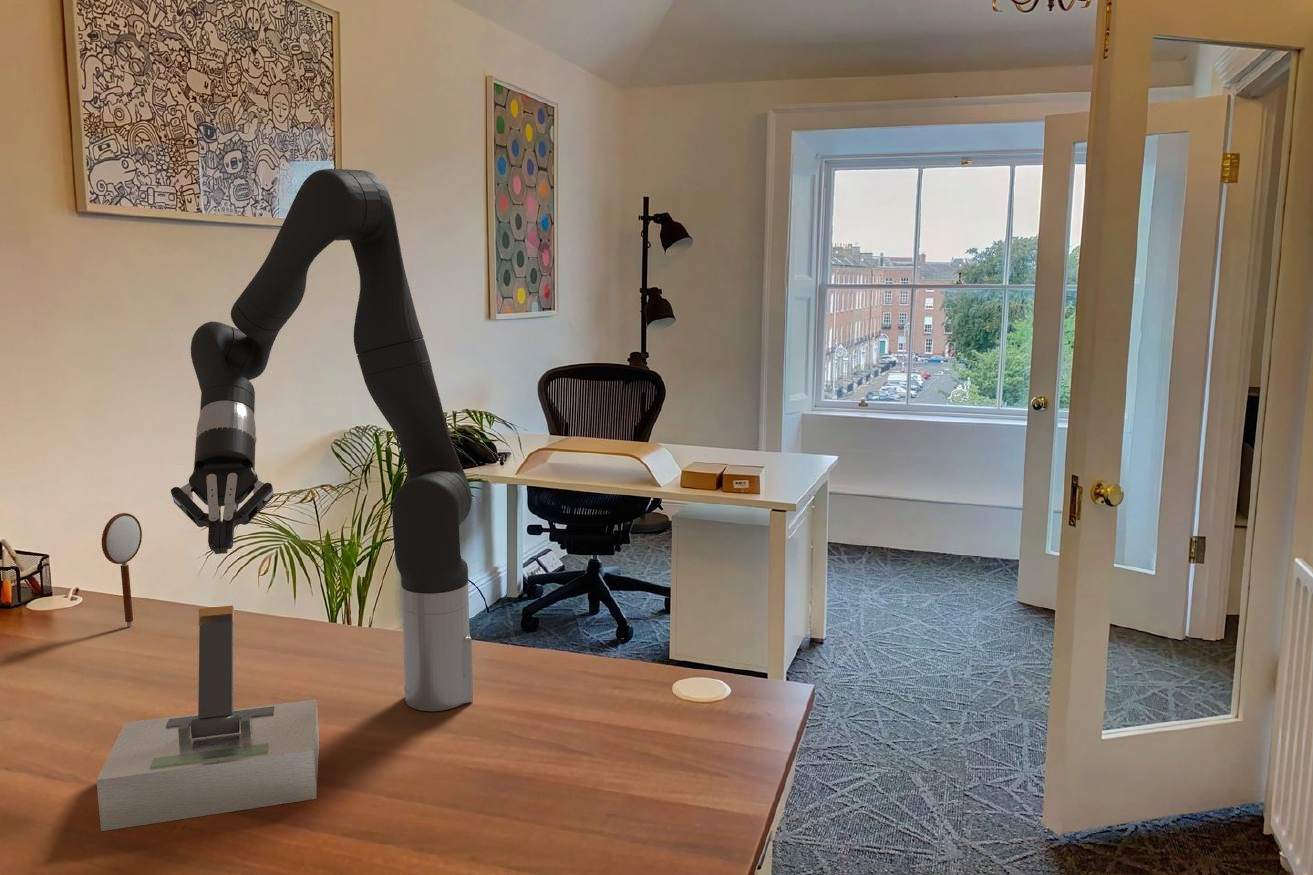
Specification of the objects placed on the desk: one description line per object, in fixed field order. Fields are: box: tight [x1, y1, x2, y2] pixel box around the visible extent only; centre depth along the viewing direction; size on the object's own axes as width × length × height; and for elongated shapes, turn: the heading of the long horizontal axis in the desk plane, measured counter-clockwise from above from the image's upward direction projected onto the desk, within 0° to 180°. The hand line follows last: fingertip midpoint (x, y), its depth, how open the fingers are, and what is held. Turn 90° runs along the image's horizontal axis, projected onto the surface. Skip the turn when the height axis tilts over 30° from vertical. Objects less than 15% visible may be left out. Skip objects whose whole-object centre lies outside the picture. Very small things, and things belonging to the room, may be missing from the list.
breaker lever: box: [191, 605, 240, 738], centre depth 113 cm, size 5×2×15 cm, turn 108°
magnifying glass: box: [101, 512, 143, 627], centre depth 160 cm, size 9×2×20 cm, turn 170°
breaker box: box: [95, 699, 320, 832], centre depth 111 cm, size 22×14×8 cm, turn 108°
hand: (220, 550), depth 120 cm, fingers closed
